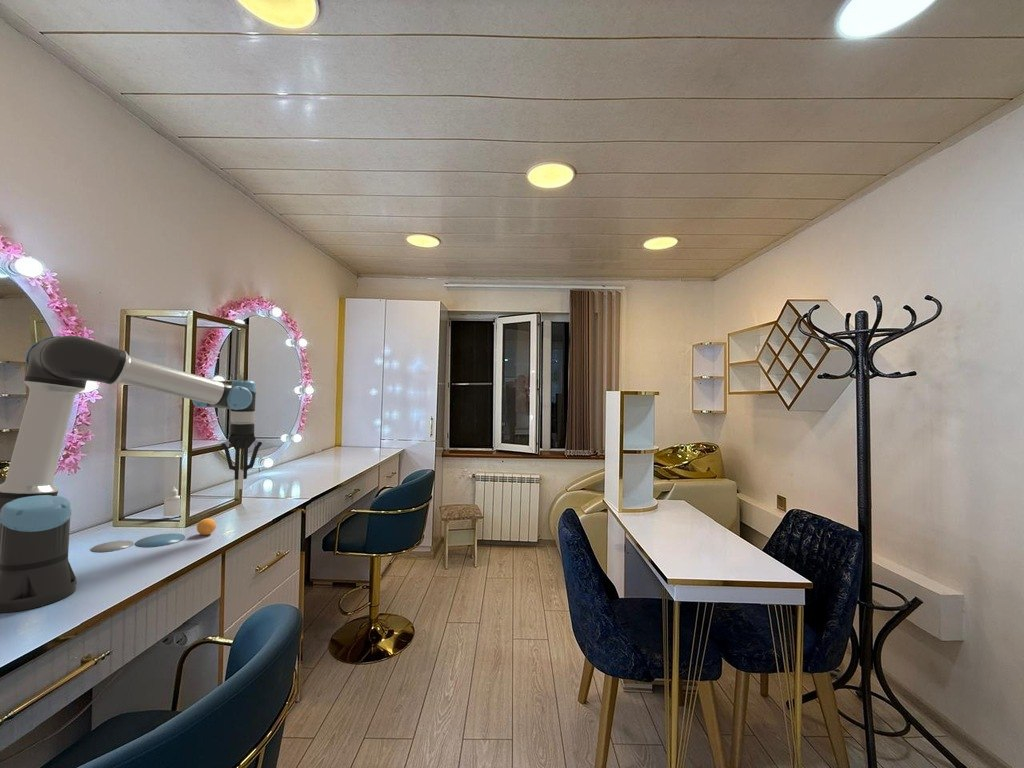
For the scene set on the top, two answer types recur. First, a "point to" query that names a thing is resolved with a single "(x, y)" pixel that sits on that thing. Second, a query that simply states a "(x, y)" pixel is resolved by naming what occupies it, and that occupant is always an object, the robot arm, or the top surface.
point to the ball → (206, 526)
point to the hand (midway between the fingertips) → (240, 488)
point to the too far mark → (112, 546)
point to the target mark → (160, 540)
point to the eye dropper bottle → (172, 503)
